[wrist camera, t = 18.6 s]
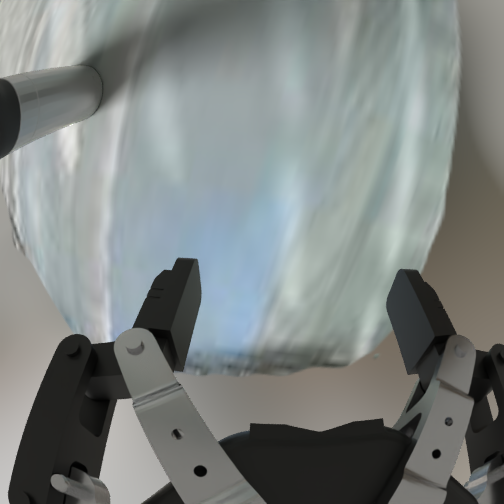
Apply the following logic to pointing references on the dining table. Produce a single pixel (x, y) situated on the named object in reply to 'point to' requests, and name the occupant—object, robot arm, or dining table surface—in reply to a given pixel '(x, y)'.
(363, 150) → the dining table surface
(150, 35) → the dining table surface
